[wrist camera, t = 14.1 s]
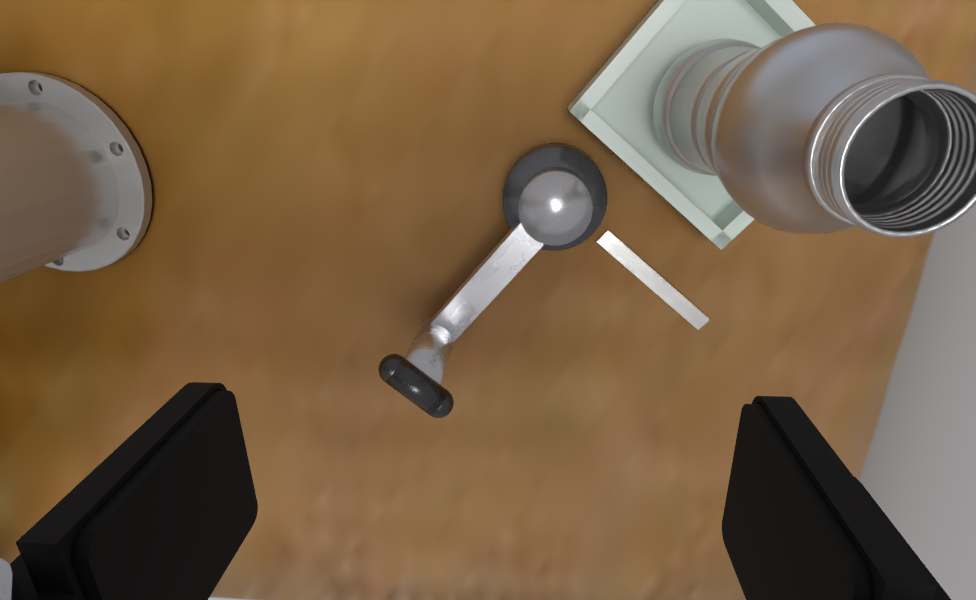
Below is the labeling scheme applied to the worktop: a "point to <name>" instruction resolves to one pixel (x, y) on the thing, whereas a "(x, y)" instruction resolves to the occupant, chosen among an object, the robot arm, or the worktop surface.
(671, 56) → the tray
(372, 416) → the worktop surface
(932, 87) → the metal bottle
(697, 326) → the crank base
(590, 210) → the crank
